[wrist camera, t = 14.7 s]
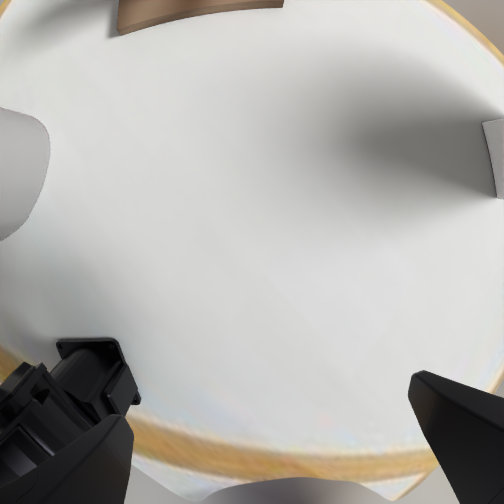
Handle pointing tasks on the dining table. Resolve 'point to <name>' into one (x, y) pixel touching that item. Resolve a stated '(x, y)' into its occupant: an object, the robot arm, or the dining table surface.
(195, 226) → the dining table surface
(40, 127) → the lumpy-topped squat cylinder
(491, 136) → the milk carton
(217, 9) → the walnut board
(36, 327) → the dining table surface
